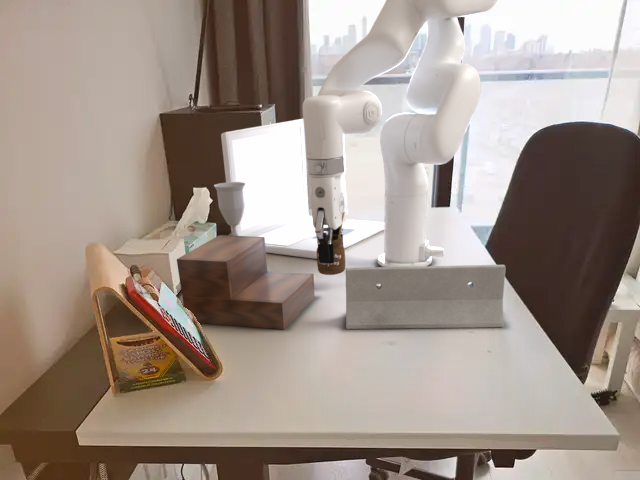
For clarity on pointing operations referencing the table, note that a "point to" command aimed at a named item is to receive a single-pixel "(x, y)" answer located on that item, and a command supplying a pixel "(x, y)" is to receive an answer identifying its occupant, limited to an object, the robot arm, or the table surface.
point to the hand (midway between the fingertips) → (331, 257)
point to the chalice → (231, 202)
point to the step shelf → (241, 285)
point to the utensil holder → (338, 257)
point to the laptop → (279, 189)
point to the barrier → (425, 297)
